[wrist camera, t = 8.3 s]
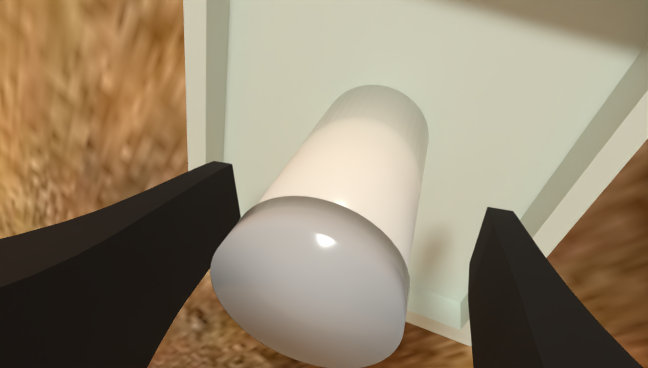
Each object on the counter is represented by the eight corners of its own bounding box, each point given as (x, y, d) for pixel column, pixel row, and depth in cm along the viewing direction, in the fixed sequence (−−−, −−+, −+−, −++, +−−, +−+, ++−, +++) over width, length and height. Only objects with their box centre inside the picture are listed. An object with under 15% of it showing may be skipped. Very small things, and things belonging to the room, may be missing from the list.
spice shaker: (436, 82, 12) (408, 245, 6) (427, 188, 15) (401, 387, 8) (315, 81, 14) (187, 214, 7) (325, 178, 16) (233, 345, 9)
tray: (719, -36, 10) (787, -27, 8) (469, 302, 19) (470, 346, 17) (227, -157, 11) (178, -175, 9) (216, 209, 20) (190, 239, 18)
